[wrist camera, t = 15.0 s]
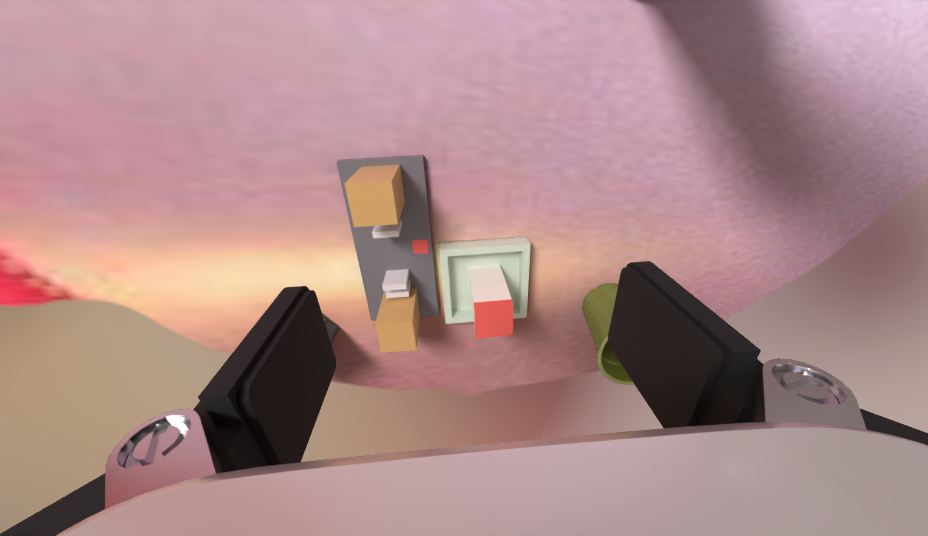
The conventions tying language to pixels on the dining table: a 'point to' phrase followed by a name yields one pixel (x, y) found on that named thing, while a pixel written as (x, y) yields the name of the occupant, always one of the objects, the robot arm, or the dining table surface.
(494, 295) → the white block red top
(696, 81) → the dining table surface
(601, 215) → the dining table surface
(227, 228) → the dining table surface
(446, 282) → the tray
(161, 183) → the dining table surface
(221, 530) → the robot arm
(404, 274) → the fuse block
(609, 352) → the plant pot
